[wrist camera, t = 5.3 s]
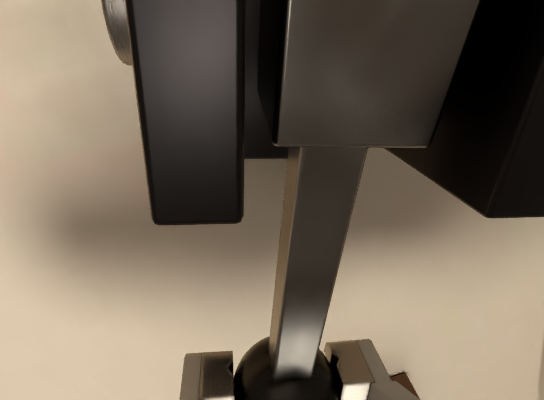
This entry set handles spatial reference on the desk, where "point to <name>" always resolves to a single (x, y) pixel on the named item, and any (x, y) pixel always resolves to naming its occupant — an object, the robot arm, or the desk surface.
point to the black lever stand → (258, 145)
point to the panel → (404, 382)
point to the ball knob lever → (338, 149)
